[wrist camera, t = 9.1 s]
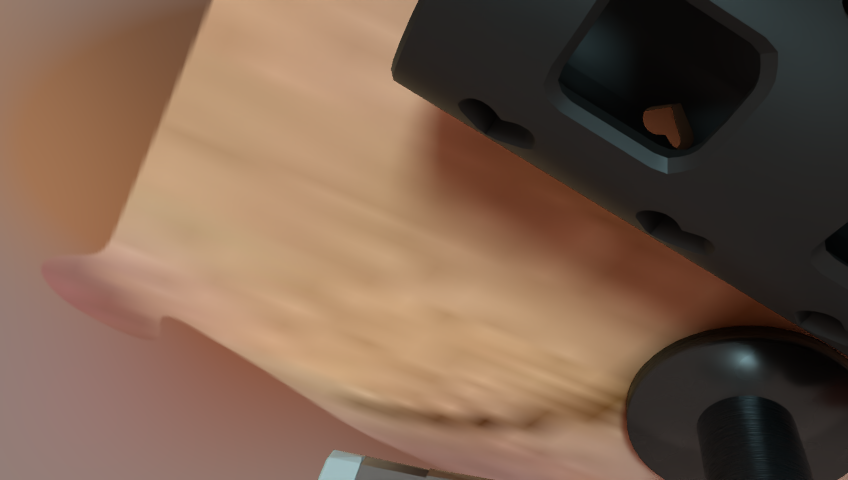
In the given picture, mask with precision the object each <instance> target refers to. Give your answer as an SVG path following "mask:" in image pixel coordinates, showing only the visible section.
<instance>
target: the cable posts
mask: <svg viewBox="0 0 848 480" xmlns="http://www.w3.org/2000/svg"><path fill="white" fill-rule="evenodd" d="M626 408H627V428H628V433H629V438H630V441H631V443H632V445H633V447H634V449H635V451H636V452H637V454H638V455H639V457H640V458H641V459H642V460H643V462H644V463H645V464H646V465H647V466H648V467H649V468H650V469H651V470H653V471H654V472H655V473H656V474H658V475H659V476H661V477H662V478H663V479H665V480H838V479H839V478H841V477H843V476H844V475H845V474H847V473H848V360H847V359H846V358H845V357H844V356H842V355H841V354H840V353H838V352H837V351H836V350H834V349H833V348H831V347H829V346H828V345H826V344H824V343H822V342H820V341H818V340H816V339H813V338H811V337H809V336H806V335H803V334H799V333H796V332H793V331H788V330H783V329H778V328H771V327H760V326H738V327H728V328H720V329H715V330H710V331H705V332H702V333H698V334H695V335H692V336H689V337H687V338H684V339H682V340H679V341H677V342H675V343H673V344H671V345H670V346H668V347H666V348H664V349H663V350H661V351H660V352H659V353H657V354H656V355H654V356H653V357H652V358H651V359H650V360H649V361H648V362H647V363H646V364H644V366H643V367H642V368H641V369H640V371H639V372H638V373H637V374H636V376H635V378H634V380H633V382H632V383H631V386H630V389H629V392H628V396H627V402H626Z"/></svg>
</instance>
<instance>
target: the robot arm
mask: <svg viewBox="0 0 848 480" xmlns="http://www.w3.org/2000/svg"><path fill="white" fill-rule="evenodd" d="M318 480H493V479H487V478H481V477H476V476H470V475H464V474H459V473H453V472H447V471H442V470H435V469H424V468H420V467H415V466H410V465H405V464H401V463H396V462H391V461H386V460H382V459H377V458H373V457H368V456H364V455H359V454H354V453H349V452H344V451H338V450H333V451H332V453H331V454H330V455H329V456H328V458H327V459H326V461H325V464H324V466H323V468H322V471H321V473H320V475H319V478H318Z"/></svg>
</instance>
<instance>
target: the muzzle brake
mask: <svg viewBox="0 0 848 480" xmlns="http://www.w3.org/2000/svg"><path fill="white" fill-rule="evenodd" d="M391 71H392V76H393V80H394V81H396V82H397V83H399V84H401V85H402V86H404V87H406V88H407V89H409V90H411V91H412V92H414V93H416V94H417V95H419V96H420V97H422V98H424V99H425V100H427V101H429V102H430V103H432V104H434V105H435V106H437V107H439V108H440V109H442V110H444V111H445V112H447V113H448V114H450V115H452V116H453V117H455V118H457V119H458V120H460V121H462V122H463V123H465V124H467V125H468V126H470V127H472V128H473V129H475V130H476V131H478V132H480V133H481V134H483V135H485V136H486V137H488V138H490V139H491V140H493V141H495V142H496V143H498V144H500V145H501V146H503V147H504V148H506V149H508V150H509V151H511V152H513V153H514V154H516V155H518V156H519V157H521V158H523V159H524V160H526V161H527V162H529V163H531V164H532V165H534V166H536V167H537V168H539V169H541V170H542V171H544V172H546V173H547V174H549V175H551V176H552V177H554V178H555V179H557V180H559V181H560V182H562V183H564V184H565V185H567V186H569V187H570V188H572V189H574V190H575V191H577V192H579V193H580V194H582V195H583V196H585V197H587V198H588V199H590V200H592V201H593V202H595V203H597V204H598V205H600V206H602V207H603V208H605V209H607V210H608V211H610V212H611V213H613V214H615V215H616V216H618V217H620V218H621V219H623V220H625V221H626V222H628V223H630V224H631V225H633V226H635V227H636V228H638V229H639V230H641V231H643V232H644V233H646V234H648V235H649V236H651V237H653V238H654V239H656V240H658V241H659V242H661V243H663V244H664V245H666V246H667V247H669V248H671V249H672V250H674V251H676V252H677V253H679V254H681V255H682V256H684V257H686V258H687V259H689V260H690V261H692V262H694V263H695V264H697V265H699V266H700V267H702V268H704V269H705V270H707V271H709V272H710V273H712V274H714V275H715V276H717V277H718V278H720V279H722V280H723V281H725V282H727V283H728V284H730V285H732V286H733V287H735V288H737V289H738V290H740V291H742V292H743V293H745V294H746V295H748V296H750V297H751V298H753V299H755V300H756V301H758V302H760V303H761V304H763V305H765V306H766V307H768V308H770V309H771V310H773V311H774V312H776V313H778V314H779V315H781V316H783V317H784V318H786V319H788V320H789V321H791V322H793V323H794V324H796V325H798V326H799V327H801V328H802V329H804V330H806V331H807V332H809V333H811V334H812V335H814V336H816V337H817V338H819V339H821V340H822V341H824V342H825V343H827V344H829V345H830V346H832V347H834V348H835V349H837V350H839V351H840V352H842V353H844V354H845V355H847V356H848V0H418V3H417V5H416V7H415V9H414V11H413V13H412V15H411V17H410V20H409V22H408V24H407V27H406V29H405V31H404V34H403V36H402V38H401V41H400V43H399V46H398V48H397V51H396V54H395V56H394V59H393V63H392V67H391ZM667 107H672V110H673V114H674V119H675V122H676V125H677V129H678V132H679V135H680V145H679V146H678V148H675V147H673V146H672V145H671V143H670V142H669V140H668V139H667V137H666V135H656V134H653V133H651V132H649V131H648V130H647V129H646V128H645V126H644V123H643V113H644V111H648V110H655V109H662V108H667Z"/></svg>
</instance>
